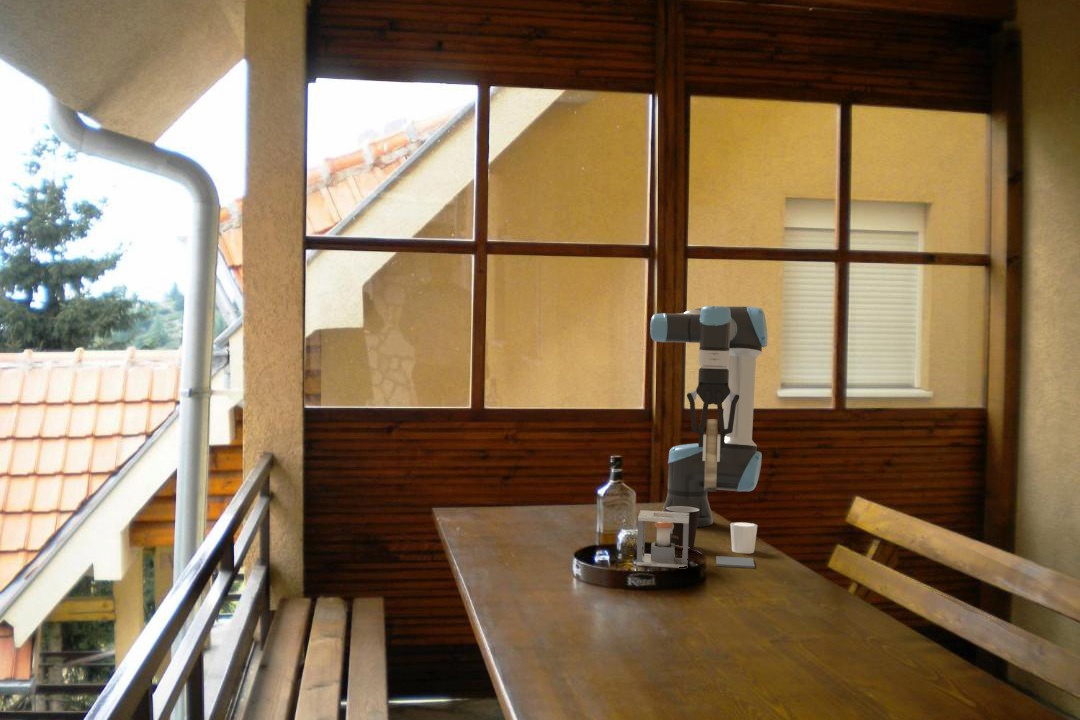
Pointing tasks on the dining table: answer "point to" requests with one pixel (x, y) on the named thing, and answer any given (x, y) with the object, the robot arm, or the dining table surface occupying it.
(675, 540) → the coffee mug
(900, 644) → the dining table surface
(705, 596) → the dining table surface
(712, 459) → the dowel
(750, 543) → the white tapered cup
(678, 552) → the dining table surface
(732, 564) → the coaster
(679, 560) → the frame
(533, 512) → the dining table surface
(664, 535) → the button
